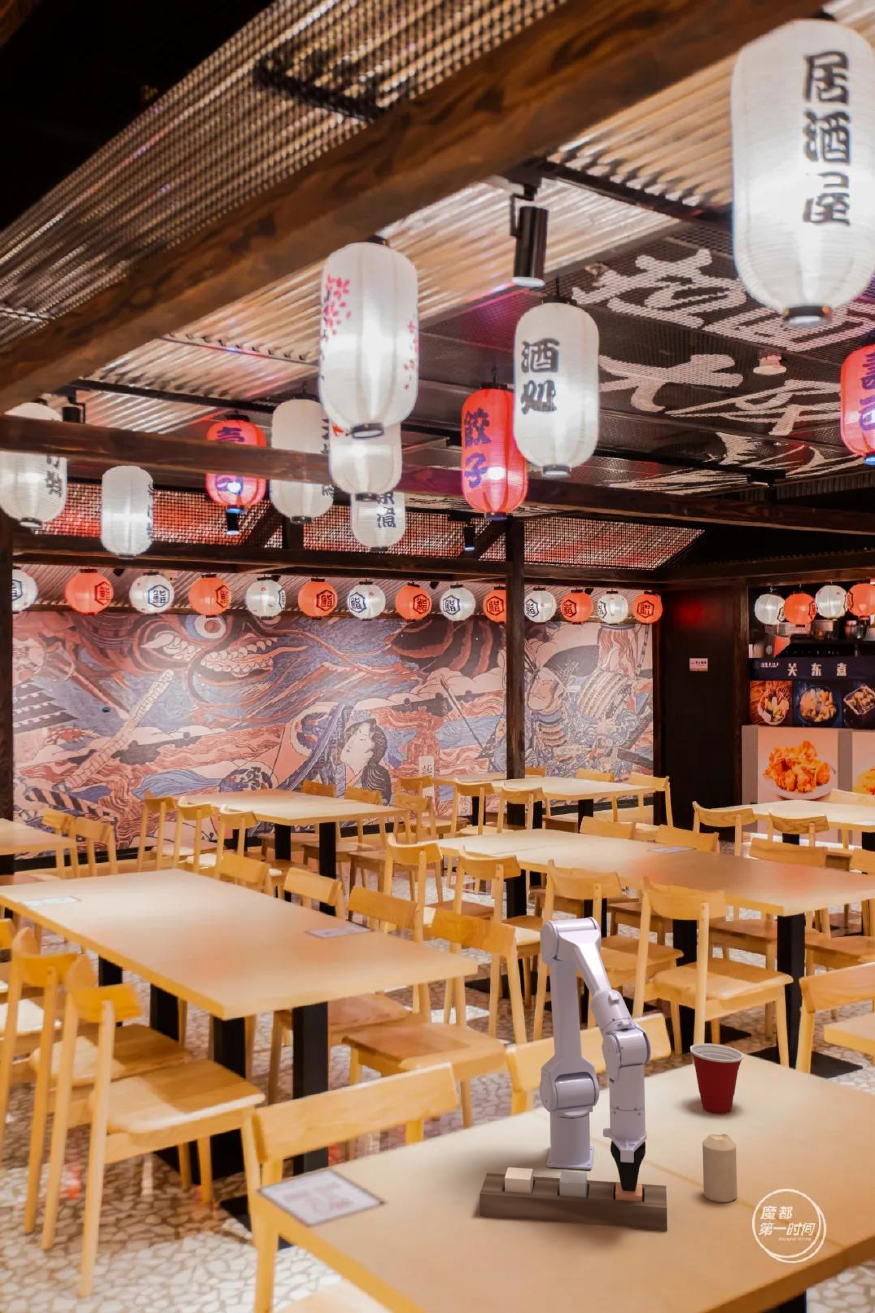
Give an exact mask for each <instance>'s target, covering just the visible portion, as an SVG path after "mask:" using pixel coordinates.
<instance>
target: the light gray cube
mask: <svg viewBox="0 0 875 1313" xmlns="http://www.w3.org/2000/svg"><path fill="white" fill-rule="evenodd" d="M559 1178H560V1182H559V1185H560V1196H572V1197H586V1198H587V1180H588V1173H587V1172H579V1171H568V1170H567V1171H565V1170H561V1172H560V1177H559Z"/></svg>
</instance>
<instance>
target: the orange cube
mask: <svg viewBox="0 0 875 1313" xmlns="http://www.w3.org/2000/svg"><path fill="white" fill-rule="evenodd" d="M642 1184H643V1183H637V1187H636V1190H635V1192H633V1191H623V1190H622V1187H621V1183H616V1193H615V1198H616V1200H626V1201H639V1202H642Z"/></svg>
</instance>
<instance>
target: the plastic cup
mask: <svg viewBox="0 0 875 1313" xmlns="http://www.w3.org/2000/svg"><path fill="white" fill-rule="evenodd" d="M689 1048H690V1049H689V1050H690V1053H691V1056H692V1058H693V1065H694V1069H695V1074H696V1082H697V1087H698V1092H699V1096H700V1102H701V1106H702V1110H704V1111H705V1112H707V1113H709V1112H710V1113H711V1114H715V1115H723V1114H722V1113H726V1114H728V1113H727V1112H729V1113H730V1112H731V1111H732V1108H733V1104H734V1102H733V1101H734V1096H735V1092H736V1087H737V1086H736V1085H737V1079H738V1074H739V1070H740V1069H739V1068H740V1066H741V1062H742V1060H743V1059H744V1058H745V1056H744V1053H743V1052H741V1051H740V1050H739V1049H737V1048H733V1047H731V1046H727V1045H723V1044H714V1043H703V1042H702V1043H696V1044H693V1045H690V1047H689Z"/></svg>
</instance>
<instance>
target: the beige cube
mask: <svg viewBox="0 0 875 1313" xmlns="http://www.w3.org/2000/svg"><path fill="white" fill-rule="evenodd" d="M505 1174H506V1175H505V1192H519V1193H533V1176H534V1169H533V1168H523V1167H510V1166H508V1167H507V1169H506V1173H505Z"/></svg>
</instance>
